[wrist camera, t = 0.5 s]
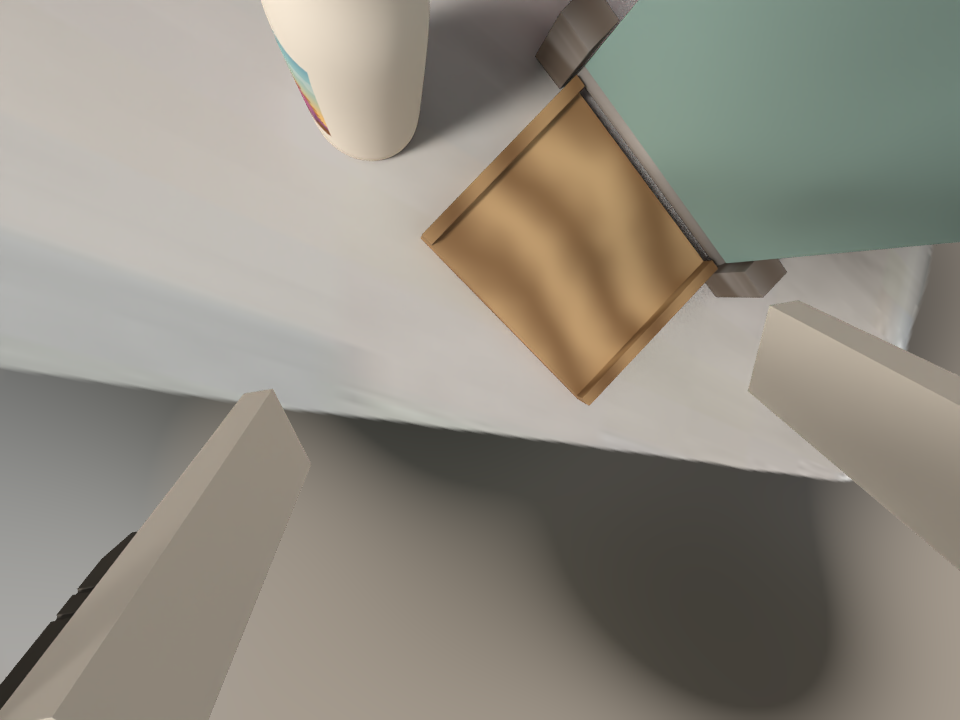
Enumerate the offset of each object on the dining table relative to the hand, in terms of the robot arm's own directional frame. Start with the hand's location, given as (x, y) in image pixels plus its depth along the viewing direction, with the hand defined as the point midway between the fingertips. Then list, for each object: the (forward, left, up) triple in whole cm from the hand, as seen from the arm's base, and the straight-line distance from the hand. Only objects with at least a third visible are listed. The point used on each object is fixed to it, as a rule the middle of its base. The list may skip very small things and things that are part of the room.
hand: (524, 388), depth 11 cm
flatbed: (-3, +13, -23) cm, 26 cm away
